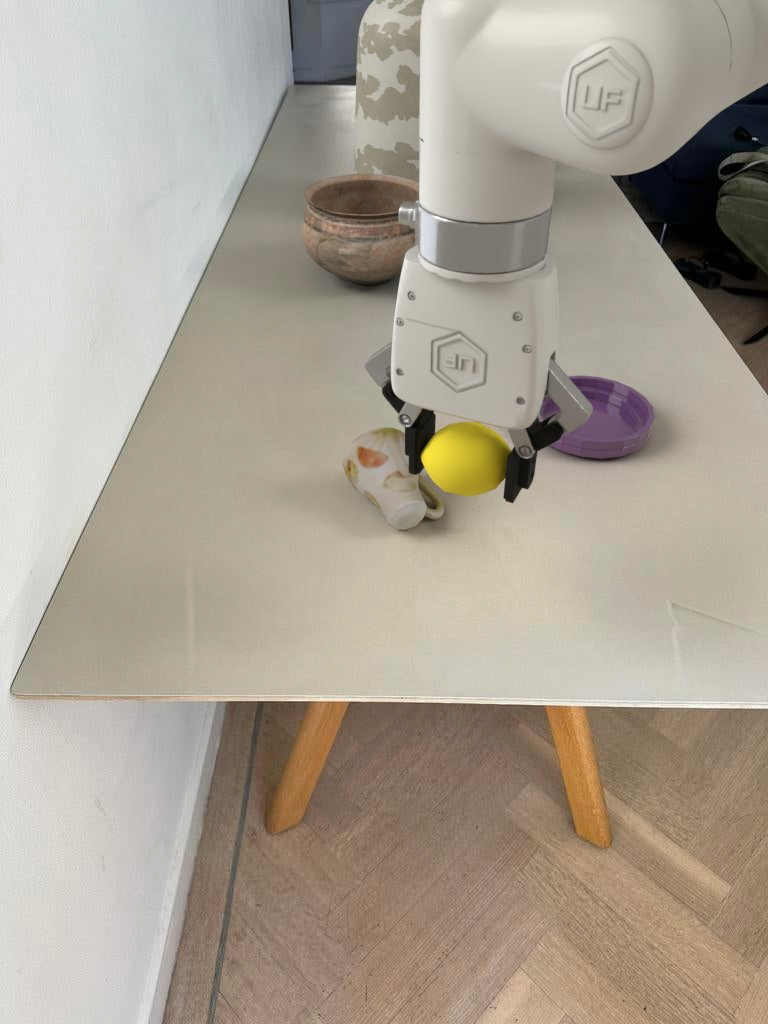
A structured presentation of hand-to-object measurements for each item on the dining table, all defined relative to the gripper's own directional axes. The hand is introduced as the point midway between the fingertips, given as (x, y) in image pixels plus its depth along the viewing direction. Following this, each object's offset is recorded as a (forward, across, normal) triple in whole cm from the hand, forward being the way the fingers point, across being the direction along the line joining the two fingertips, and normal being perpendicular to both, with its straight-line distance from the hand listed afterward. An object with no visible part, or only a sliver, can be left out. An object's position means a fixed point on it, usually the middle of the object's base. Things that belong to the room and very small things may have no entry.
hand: (467, 476), depth 56 cm
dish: (+14, +2, +31) cm, 34 cm away
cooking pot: (+13, -38, +56) cm, 69 cm away
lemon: (+1, 0, 0) cm, 1 cm away
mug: (+14, -11, +9) cm, 20 cm away
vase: (+13, -44, +83) cm, 95 cm away
